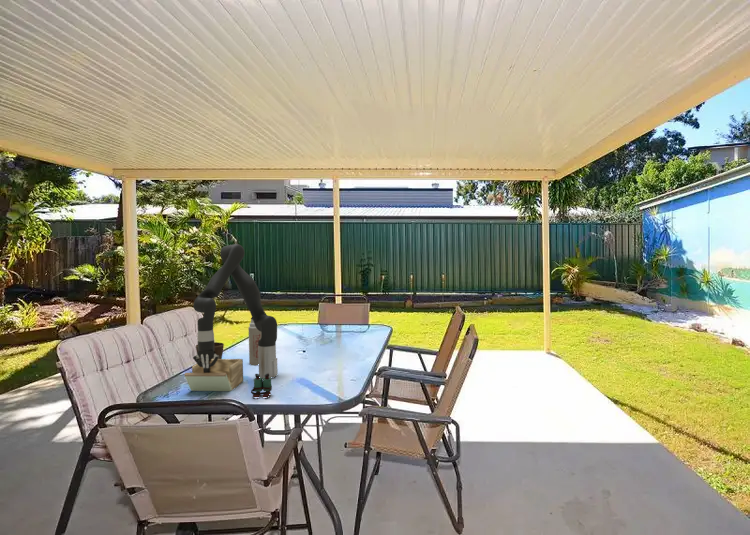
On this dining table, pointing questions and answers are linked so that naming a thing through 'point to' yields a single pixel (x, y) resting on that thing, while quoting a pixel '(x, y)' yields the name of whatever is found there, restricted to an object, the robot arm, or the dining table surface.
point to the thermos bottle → (253, 343)
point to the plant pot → (216, 349)
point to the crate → (226, 370)
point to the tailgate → (208, 381)
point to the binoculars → (262, 386)
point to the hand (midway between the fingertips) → (207, 375)
